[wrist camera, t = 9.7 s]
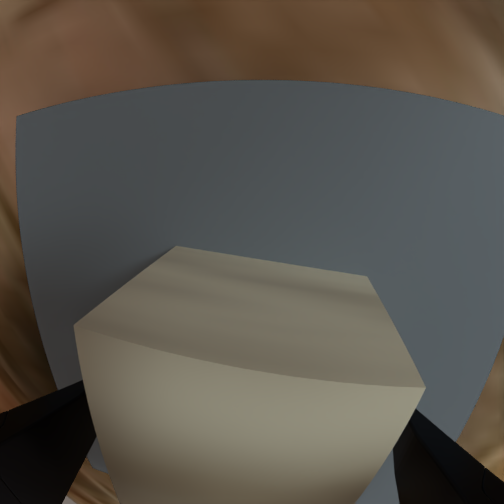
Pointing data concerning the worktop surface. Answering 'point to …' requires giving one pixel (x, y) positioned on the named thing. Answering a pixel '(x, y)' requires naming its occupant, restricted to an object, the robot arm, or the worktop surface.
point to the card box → (244, 382)
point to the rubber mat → (277, 211)
